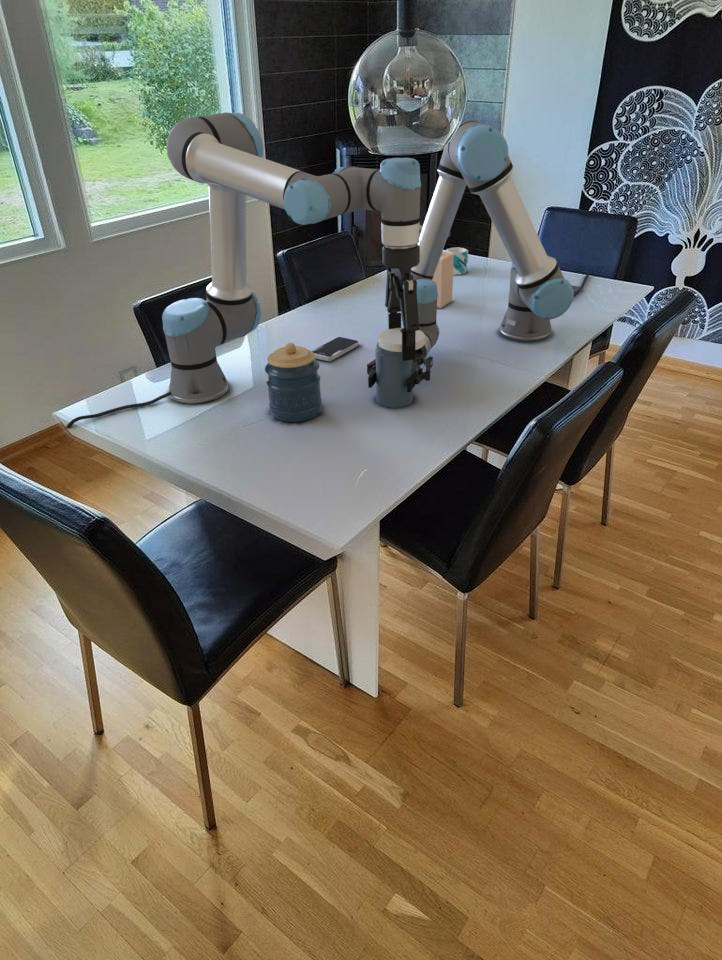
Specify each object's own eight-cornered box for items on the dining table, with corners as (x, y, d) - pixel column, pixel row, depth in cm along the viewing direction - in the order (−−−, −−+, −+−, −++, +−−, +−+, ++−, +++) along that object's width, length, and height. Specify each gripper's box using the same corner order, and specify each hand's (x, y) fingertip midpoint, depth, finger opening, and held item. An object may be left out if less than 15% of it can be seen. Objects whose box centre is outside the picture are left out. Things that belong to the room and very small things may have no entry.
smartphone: (359, 341, 201) (329, 357, 190) (359, 345, 201) (329, 362, 191) (338, 336, 204) (308, 352, 194) (339, 340, 205) (308, 357, 195)
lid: (373, 350, 141) (373, 342, 140) (384, 333, 149) (384, 326, 148) (420, 353, 139) (420, 345, 138) (428, 336, 147) (428, 328, 146)
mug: (441, 273, 261) (442, 251, 257) (455, 265, 270) (456, 243, 265) (461, 275, 257) (462, 253, 253) (474, 267, 266) (475, 246, 261)
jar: (370, 404, 168) (368, 347, 160) (385, 389, 175) (384, 334, 167) (404, 410, 165) (404, 353, 156) (418, 395, 171) (419, 339, 163)
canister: (275, 426, 159) (266, 357, 150) (266, 403, 170) (257, 337, 160) (328, 418, 162) (323, 349, 153) (316, 396, 173) (310, 330, 163)
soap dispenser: (441, 308, 227) (443, 241, 215) (418, 304, 231) (419, 238, 219) (457, 297, 236) (460, 232, 224) (435, 294, 240) (437, 230, 228)
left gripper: (437, 256, 124) (434, 368, 137) (403, 231, 143) (403, 331, 155) (398, 260, 123) (399, 372, 135) (369, 234, 142) (372, 335, 154)
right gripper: (453, 367, 179) (432, 404, 162) (375, 359, 186) (347, 393, 168) (454, 341, 175) (433, 375, 158) (374, 333, 182) (346, 366, 164)
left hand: (401, 350), depth 145 cm, fingers closed on lid, 10 cm apart
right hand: (389, 384), depth 163 cm, fingers closed on jar, 9 cm apart
